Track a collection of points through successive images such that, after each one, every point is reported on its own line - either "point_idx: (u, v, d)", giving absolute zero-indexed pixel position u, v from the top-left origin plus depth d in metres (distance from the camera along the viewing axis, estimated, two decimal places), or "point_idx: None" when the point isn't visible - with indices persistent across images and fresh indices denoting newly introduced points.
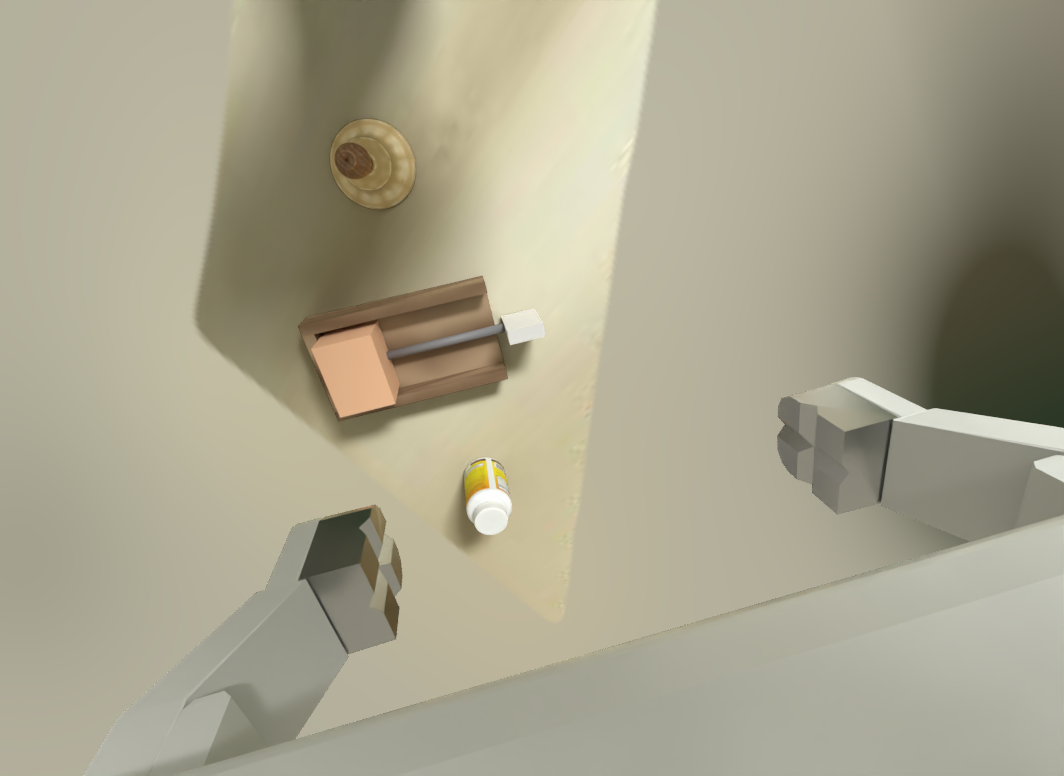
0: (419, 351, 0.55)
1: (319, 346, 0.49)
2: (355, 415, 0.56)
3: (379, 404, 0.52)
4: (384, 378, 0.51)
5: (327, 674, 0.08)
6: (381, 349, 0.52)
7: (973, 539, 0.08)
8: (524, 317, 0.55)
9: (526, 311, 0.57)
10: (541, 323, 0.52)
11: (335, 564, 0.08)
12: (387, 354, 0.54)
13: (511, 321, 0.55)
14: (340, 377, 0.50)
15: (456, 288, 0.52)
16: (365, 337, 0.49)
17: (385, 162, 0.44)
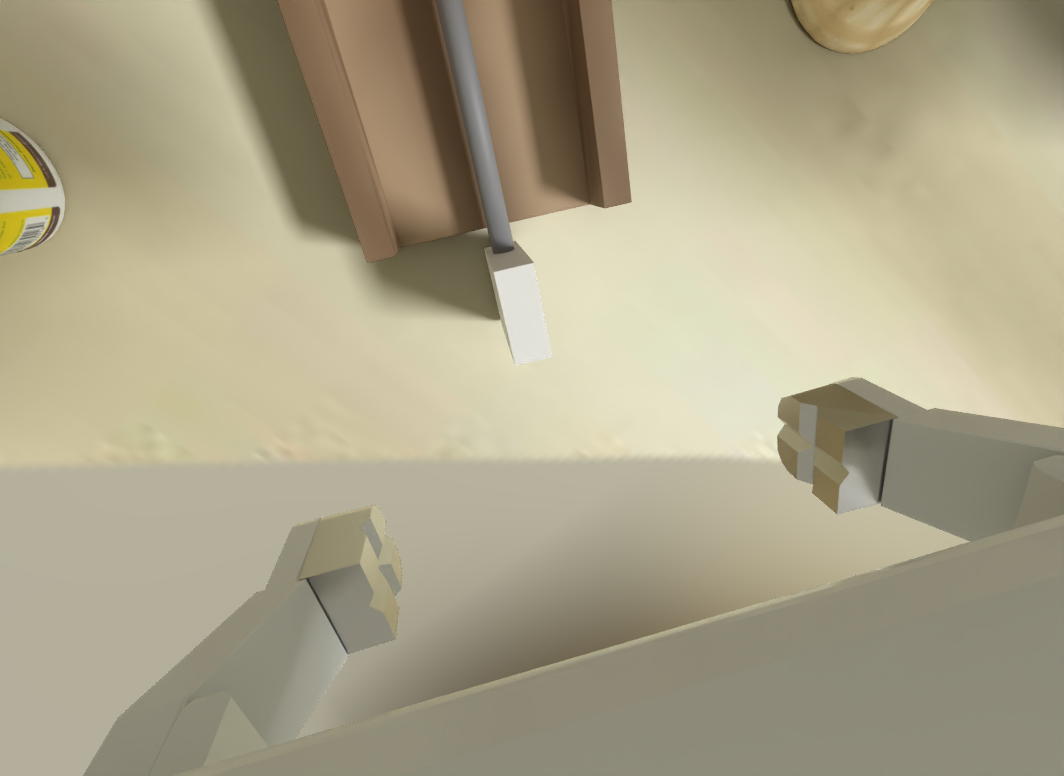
0: None
1: None
2: None
3: None
4: None
5: (327, 674, 0.08)
6: None
7: (973, 539, 0.08)
8: None
9: None
10: (549, 352, 0.20)
11: (335, 564, 0.08)
12: None
13: None
14: None
15: None
16: None
17: None
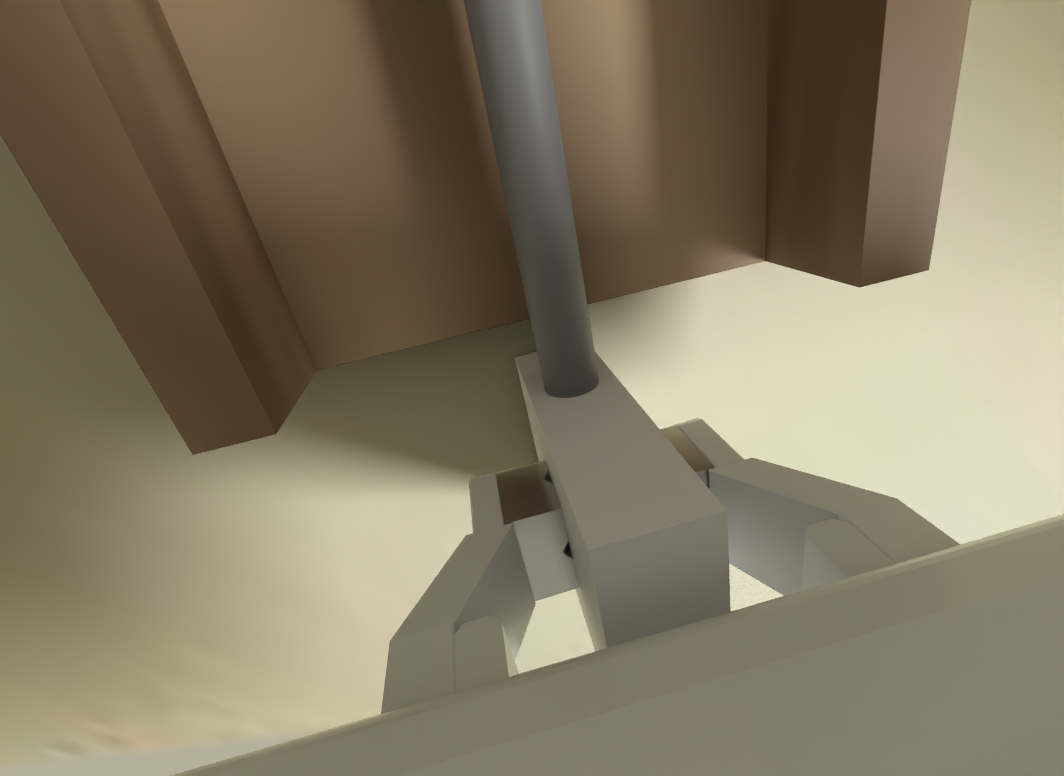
0: None
1: None
2: None
3: None
4: None
5: (524, 618, 0.08)
6: None
7: (787, 594, 0.08)
8: None
9: None
10: None
11: (536, 510, 0.08)
12: None
13: None
14: None
15: None
16: None
17: None
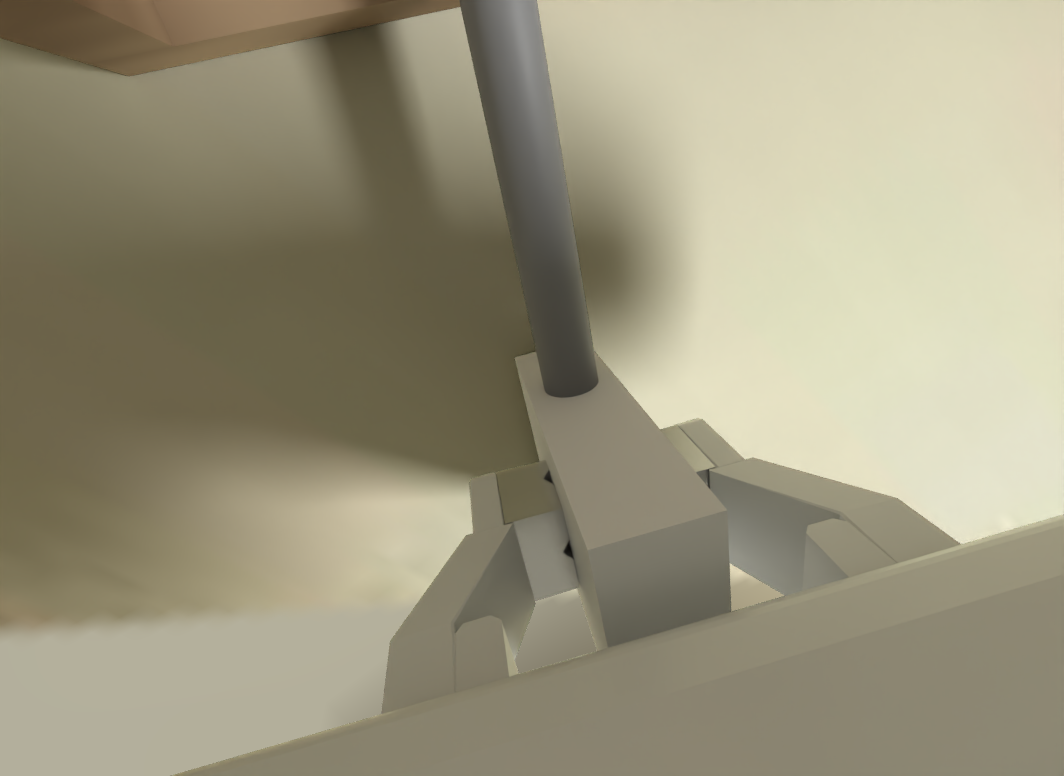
0: None
1: None
2: None
3: None
4: None
5: (524, 618, 0.08)
6: None
7: (787, 593, 0.08)
8: None
9: None
10: None
11: (536, 510, 0.08)
12: None
13: None
14: None
15: None
16: None
17: None
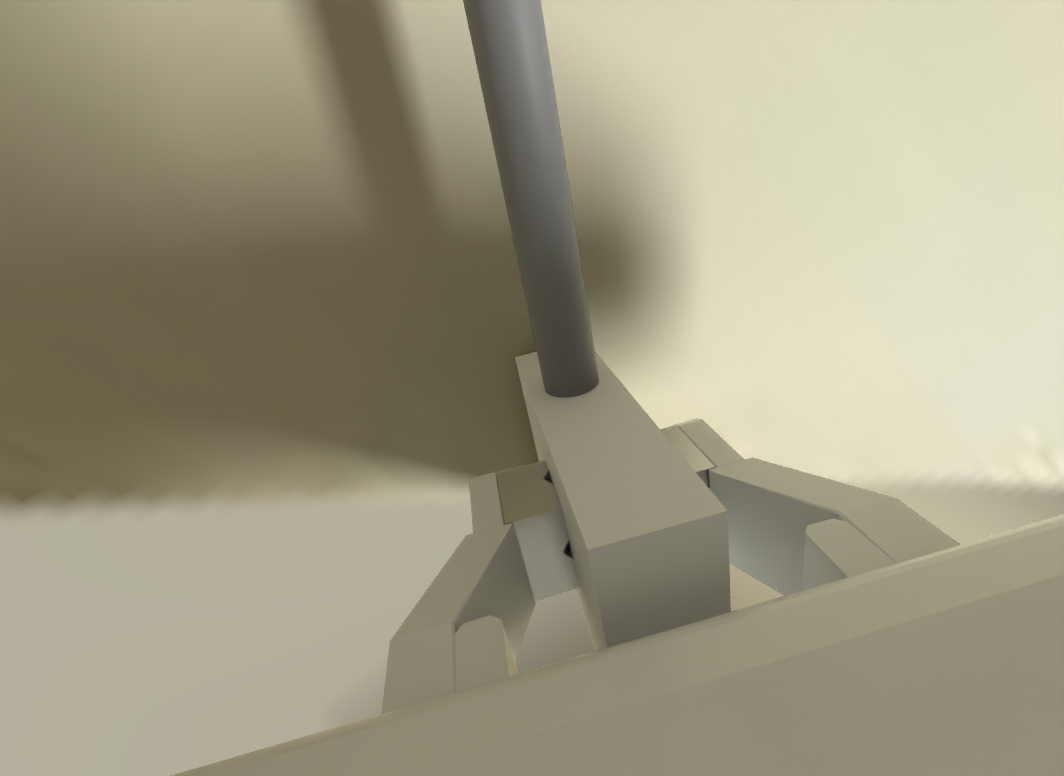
0: None
1: None
2: None
3: None
4: None
5: (524, 618, 0.08)
6: None
7: (787, 594, 0.08)
8: None
9: None
10: None
11: (536, 510, 0.08)
12: None
13: None
14: None
15: None
16: None
17: None
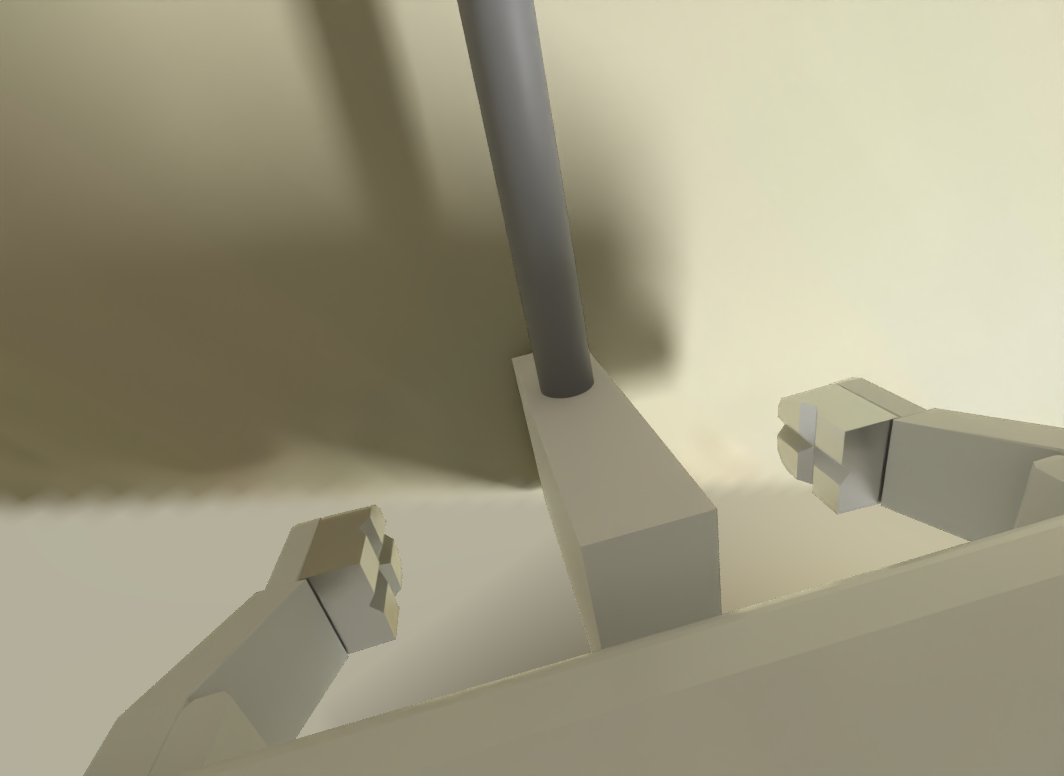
0: None
1: None
2: None
3: None
4: None
5: (327, 674, 0.08)
6: None
7: (973, 539, 0.08)
8: None
9: None
10: None
11: (335, 564, 0.08)
12: None
13: None
14: None
15: None
16: None
17: None
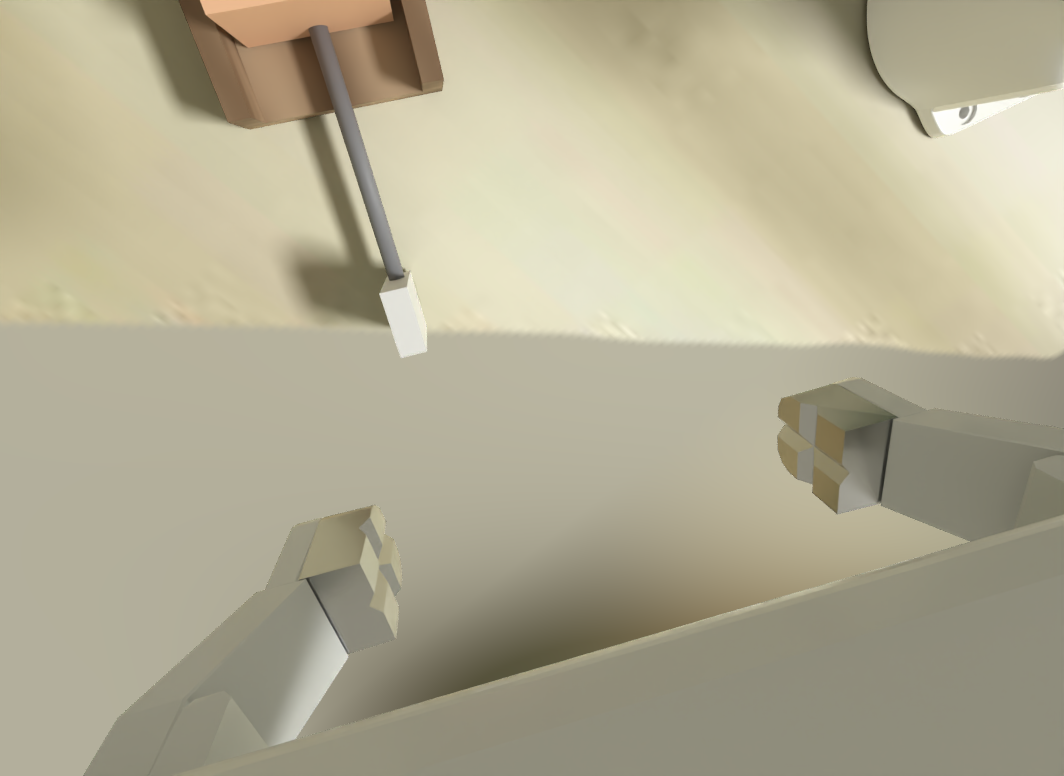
0: (336, 104, 0.27)
1: None
2: None
3: None
4: None
5: (327, 674, 0.08)
6: (340, 10, 0.24)
7: (973, 539, 0.08)
8: (420, 314, 0.32)
9: (422, 315, 0.34)
10: (424, 348, 0.29)
11: (335, 564, 0.08)
12: (322, 27, 0.26)
13: (412, 291, 0.31)
14: None
15: None
16: None
17: None
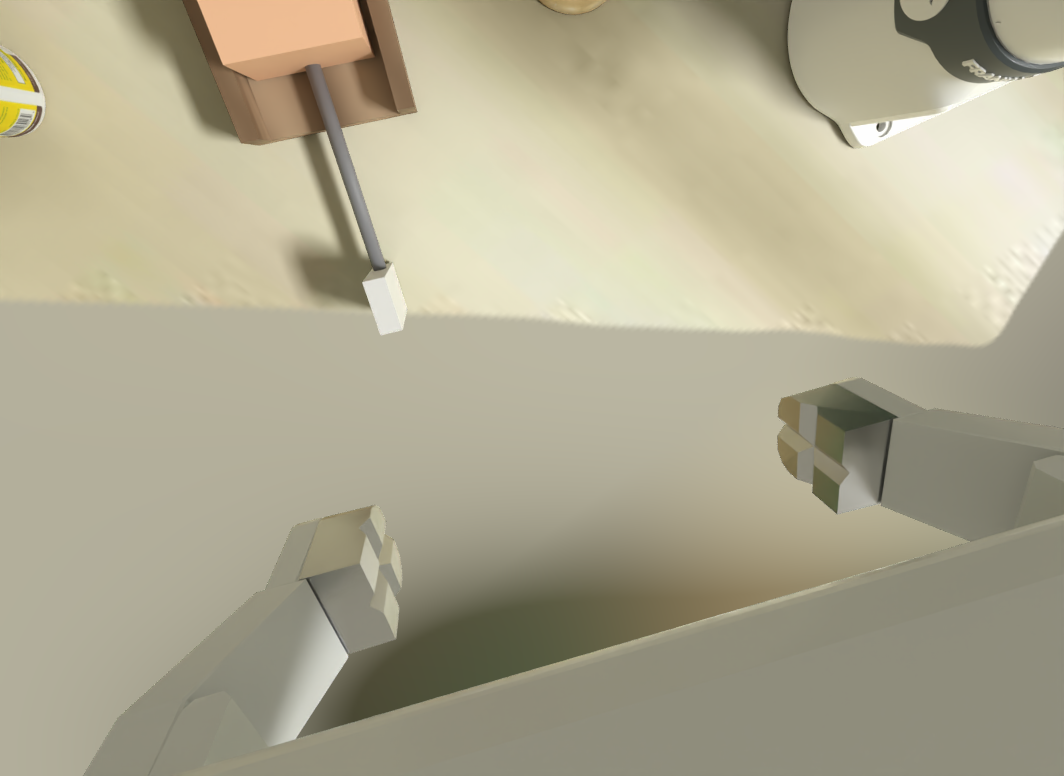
0: (327, 126, 0.33)
1: None
2: None
3: (217, 28, 0.27)
4: (277, 50, 0.28)
5: (327, 674, 0.08)
6: (328, 54, 0.30)
7: (973, 539, 0.08)
8: (399, 299, 0.38)
9: (403, 300, 0.40)
10: (400, 327, 0.36)
11: (335, 564, 0.08)
12: (316, 65, 0.32)
13: (392, 280, 0.37)
14: None
15: None
16: (357, 26, 0.28)
17: None
